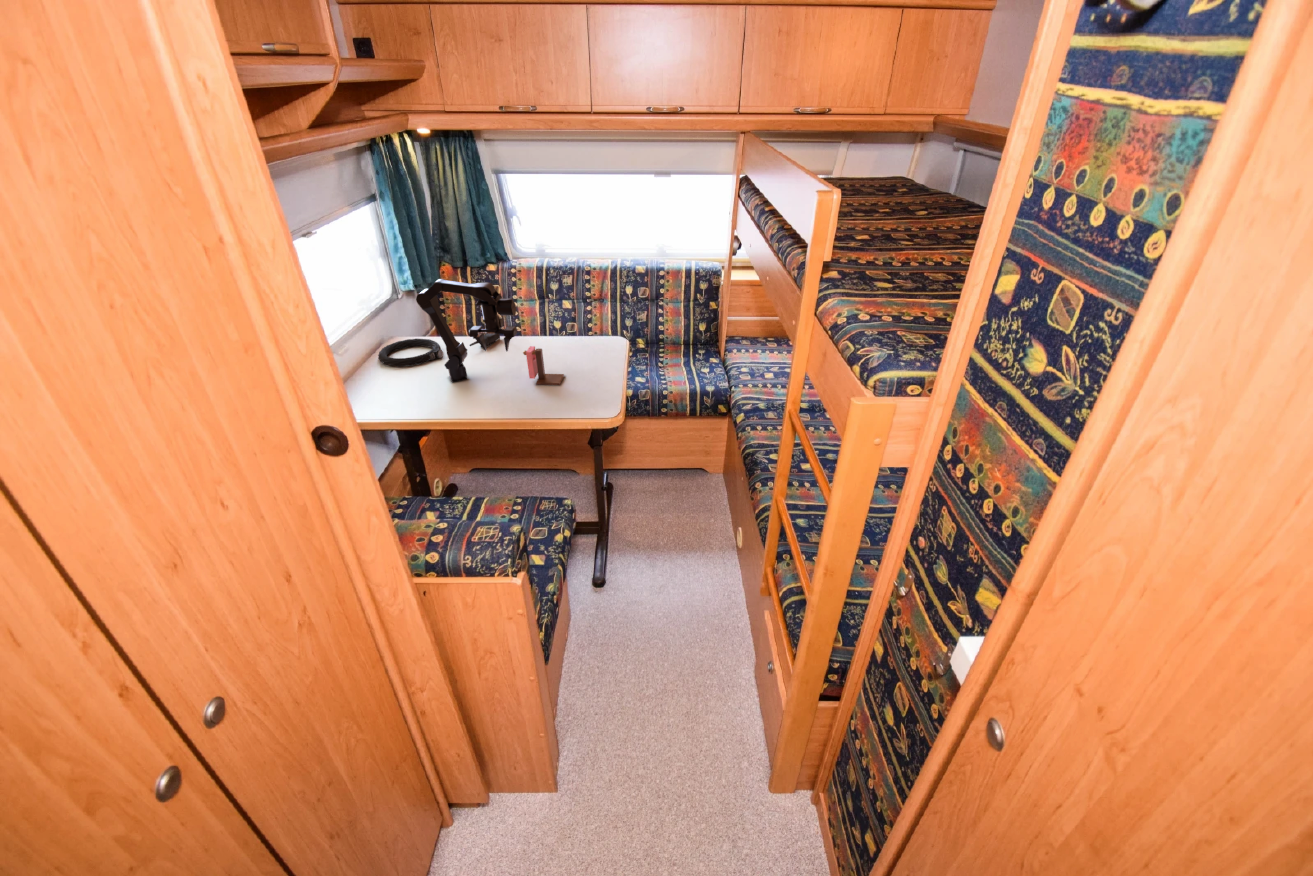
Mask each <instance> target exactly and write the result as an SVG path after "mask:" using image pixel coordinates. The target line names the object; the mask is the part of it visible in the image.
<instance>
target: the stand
mask: <svg viewBox="0 0 1313 876" xmlns="http://www.w3.org/2000/svg"><path fill="white" fill-rule="evenodd" d="M526 351H527V350H523V352H522V354H523V355H524V356H526ZM532 355H536V362H537V370H538V374H537V376H538V378H537V380H536V382H535V385H536V386H561V384H562V382H563V380H564V377H565V373H546V370H545V362H544V354H543V348H535V351H533V353H532Z"/></svg>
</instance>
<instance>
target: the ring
mask: <svg viewBox="0 0 1313 876" xmlns="http://www.w3.org/2000/svg"><path fill="white" fill-rule="evenodd" d="M410 347H411V348H413V347H426V348H431V349H430V350H429V351H427V352H425V353H422V354H419V355H416V356H410V357H399V358H395V357H389V356H388V355H390V354H391V353H393V352H395V351H398V350H400V349H401V350H402V349H404V348H410ZM443 355H444V353H443V350H442V349H441V346H440V343H438V342H437V341H435V340H433V339H430V338H429V339H428V338H408V339H405V340H398V341H396V342H393V343H390V344H387V345H385V346H384V347H382V348H381V350H380V351H378V354H377V356H378V360H379V361H380V363H383V364H384V365H388V366H391V367H395V366H396V367H407V366H408V367H409V366H415V365H418V364H419V365H420V364H423V363H425V362H429V361H433V360H434V359H436V360H439V359H442V358H443Z"/></svg>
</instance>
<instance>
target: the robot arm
mask: <svg viewBox="0 0 1313 876" xmlns="http://www.w3.org/2000/svg"><path fill="white" fill-rule="evenodd" d="M441 292H443V293H450V294H451V293H452V294H459V295H465V296H470V297H472V298H475V299H477V300H478V301H477V302H476V303H475V305H476V306H481V311H482V316H483V319H482V323H484V328H483V326H482V325H473V326H472V327H471V328H470V329H469V330H468V335H469V338H472V339H473V340H475V341H478V343H477V344H479V345H480V347H481V346H482V347H481V349H483V351H484V352H486V351H487V347H486V344H485V340H484V334H500V335H503V336H504V337H503V342H504V348H505V351H506V352H508V351H509V347H510V343H511V340H512V339H513V338H514V337H515V336H516V335H517V334H518V328H517V327H516V326H510V325H509V326H508V325H507V326H506V327H505V328H502V327H504V326H505V324H504V322H505V321H504V318H502V317H501V316H505V317H506V316H508V317H511V316H516V314H517V305H516V303H515V301H514V298H513V297H509V298H503V296H502V295H501V294H500V293H499V292H498V291H497V289H496V287H495V286H494V285H493V283H491V282H476V283H467V282H462V281H461V282H460V281H454V280H447V279H443V278H438V279H437V280H436V281H434V283H432V284H431V286H430V287H429V288H424V289H423V290H422V291H421V292H419V293H418V294H417V295H416V297H415V302H416V304H417V305H418V306H419V307H420V309H421V310H422V311H423V312H425V313H426V314H427V315H428V317H429V318H430V321H432V323H433V325H434V327H435V329H436V330H437V333H438V335H439V336H440V338H441V340H442V341H443V344H444V345H445V350H446V355H447V358H448V360H447V361H446V362H445V364H444V367H445V369H446V370H448V378H449V380H450V381H451V383H457V382H462V381H466V380H468V373H467V368H466V366H465V365H464V362H465V360H466V358H467V356H468V349H467V348H466V346H465V343H464V342H463V341H462V342H459V341H458V340H457V339H456V337H455V336H454V333H453V332H452V330H451V328H450V326H449V324H448V322H447V321H446V318H445V317H444V315H443V313H442V311H441V310H440V303H439V299H438V294H440V293H441ZM500 317H501V318H500Z"/></svg>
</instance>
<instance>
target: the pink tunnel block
mask: <svg viewBox="0 0 1313 876" xmlns="http://www.w3.org/2000/svg"><path fill="white" fill-rule="evenodd" d="M535 350H536V346H535V345H534V346H533V345H530V346H529V347H528V348H527V350H526V355H525V357H526V362H527V363H526V364H527V370H528V377H529V379H536V378H537V376H538V370H537V362H536V355H532V353H533V351H535Z"/></svg>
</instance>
